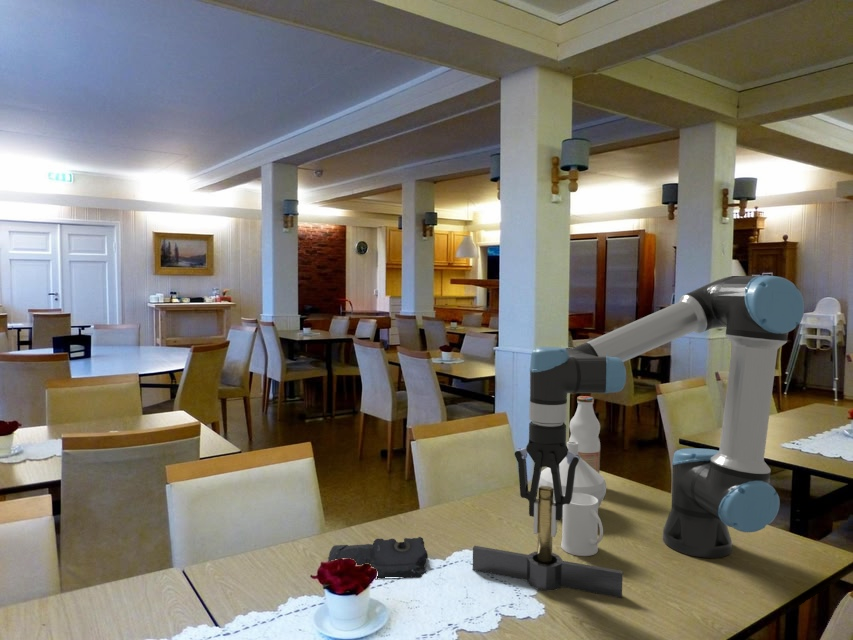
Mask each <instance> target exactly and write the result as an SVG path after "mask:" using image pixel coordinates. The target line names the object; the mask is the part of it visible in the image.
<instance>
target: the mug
mask: <svg viewBox="0 0 853 640" xmlns="http://www.w3.org/2000/svg"><path fill="white" fill-rule="evenodd" d="M564 496H565V495H564ZM561 527H562V528H561V529H562V531H561V533H562V535H561V544H560V547H561V549H562V550H563V551H564V552H566V553H568V554H570V555H574V556H577V557H589V556H594V555H596V554H597V553H598V552H599V547H598V545H599V543H600V542H601V541H602V539H603V535H604V527H603V523H602V520H601V518H600V516H599V507H598V499H597V498H596V497H594V496H591V495H588V494H583V493H573V494H572V499H571V502H570V504H563V516H562V526H561ZM598 527H599V535H598Z"/></svg>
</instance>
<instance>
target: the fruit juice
mask: <svg viewBox="0 0 853 640" xmlns="http://www.w3.org/2000/svg"><path fill="white" fill-rule="evenodd" d="M576 401H577V408H576V411H575V413H574V416H572V418H571V419H570V422H569V431H570V437H569V438H568V442H569V441H573V442H577V443H578V455H579V456H580V457H581V459H583V460H584V461H585V462H586V463H587V464H588V465H589V466H591V467H592V468H593V469H594V470H595V471H597V472H598V473H599V474H600V473H601V469H600V466H601V462H600V460H601V442H600V441H601V440H600V437H599V434H600V431H601V423H600V421H599V420H598V418H597V416H596V413H595V410H594V406H593V404H594V401H595V399H594V397H592V396H587V395H585V396H583V395H579V396H577V398H576Z"/></svg>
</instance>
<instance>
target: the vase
mask: <svg viewBox="0 0 853 640" xmlns="http://www.w3.org/2000/svg"><path fill="white" fill-rule="evenodd" d="M566 446H567V448H568V452H570V453H572V454H574V455H578V443H577V442H573V441H569V440H568V441H566ZM568 468H569V464H568V463H567V457H565V458H564V459H563V460H562V462H561V463H560V464H559V471H560V479H561V486H562V494H563V496H564V495H565V492H566V484H567V476H568ZM541 486H549V487H552V488H553V489H554V487H553V480H552V473H551V468H549V467H545V468H544V469H542V470H541V475H540V481H539V486H538V490H539V487H541ZM573 493H583V494H588V495H591V496H594V497H596V498H597V499H598V508H599V507H600V506H601V504H602V502H603V500H604V498H605V496H606V493H607V482H606V479H605V477H604V475H602V474H600V472H599V473H598V472H597V471H595V470H594V469H593V468H592V467H591V466H589V465H588V464H587V463H586V462H585V461H584V460H583V459H581V457H580V459H579V462H578V464H577V466H576V469H575V478H574V486H573ZM554 501H555V495H554V491H553V502H554ZM562 517H563V514H562Z"/></svg>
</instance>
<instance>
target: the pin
mask: <svg viewBox="0 0 853 640" xmlns="http://www.w3.org/2000/svg"><path fill="white" fill-rule="evenodd" d="M553 491H554V489H553V488H552V487H549V486H541V487H539V489H538V499H539V506H538V534H537V550H536V552H537V559H538V560H540V561H542V562H550V561H551V560H552V553H553V537H551V521H552V504H553Z"/></svg>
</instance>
